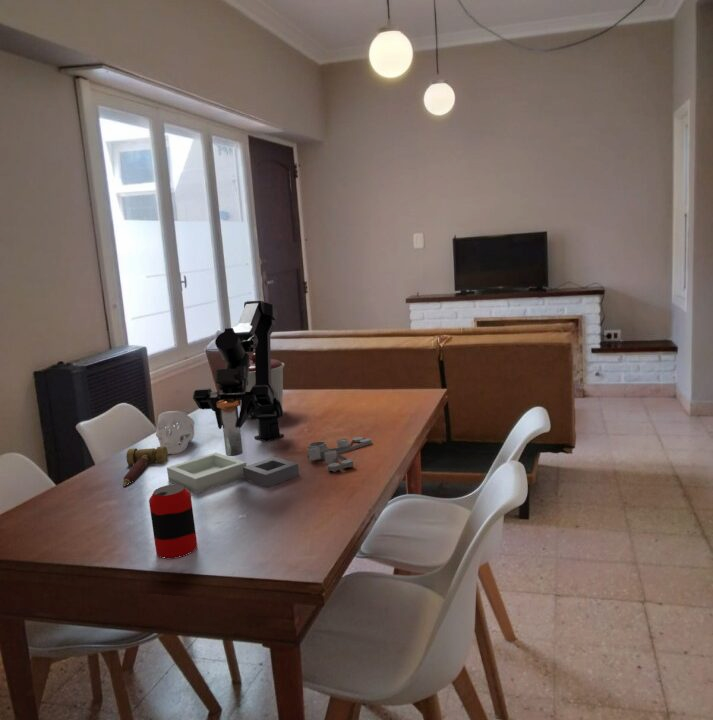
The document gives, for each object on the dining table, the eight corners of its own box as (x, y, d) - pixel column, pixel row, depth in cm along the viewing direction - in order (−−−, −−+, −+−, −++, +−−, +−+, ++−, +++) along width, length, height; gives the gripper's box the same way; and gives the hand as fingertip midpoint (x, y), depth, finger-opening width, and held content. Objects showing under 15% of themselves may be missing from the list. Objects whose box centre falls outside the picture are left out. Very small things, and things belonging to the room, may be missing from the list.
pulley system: (291, 477, 167) (349, 474, 163) (288, 458, 167) (347, 455, 163) (323, 446, 193) (375, 443, 189) (321, 430, 193) (373, 427, 189)
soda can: (148, 557, 127) (139, 496, 125) (172, 539, 134) (164, 481, 132) (182, 561, 124) (173, 498, 122) (205, 543, 131) (197, 483, 129)
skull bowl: (148, 453, 189) (150, 411, 193) (163, 465, 202) (165, 425, 206) (185, 450, 188) (186, 408, 193) (199, 462, 201) (199, 422, 206)
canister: (242, 425, 216) (235, 360, 212) (229, 414, 233) (222, 353, 229) (296, 415, 223) (290, 352, 219) (280, 405, 239) (274, 346, 236)
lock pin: (219, 453, 166) (213, 401, 163) (241, 448, 168) (235, 397, 166) (227, 458, 161) (220, 405, 159) (249, 453, 163) (243, 401, 161)
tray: (168, 481, 169) (166, 467, 168) (217, 465, 178) (216, 452, 177) (197, 493, 158) (195, 479, 158) (247, 475, 168) (245, 462, 167)
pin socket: (244, 479, 166) (243, 467, 165) (276, 468, 172) (274, 456, 171) (267, 487, 159) (265, 475, 158) (299, 475, 165) (297, 463, 164)
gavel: (143, 474, 166) (102, 477, 166) (146, 492, 167) (105, 494, 168) (166, 443, 187) (130, 446, 187) (169, 459, 188) (133, 462, 188)
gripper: (190, 357, 165) (180, 413, 157) (265, 352, 163) (259, 408, 154) (204, 381, 174) (195, 435, 166) (275, 377, 172) (270, 431, 164)
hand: (229, 427), depth 162 cm, fingers closed on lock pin, 4 cm apart
